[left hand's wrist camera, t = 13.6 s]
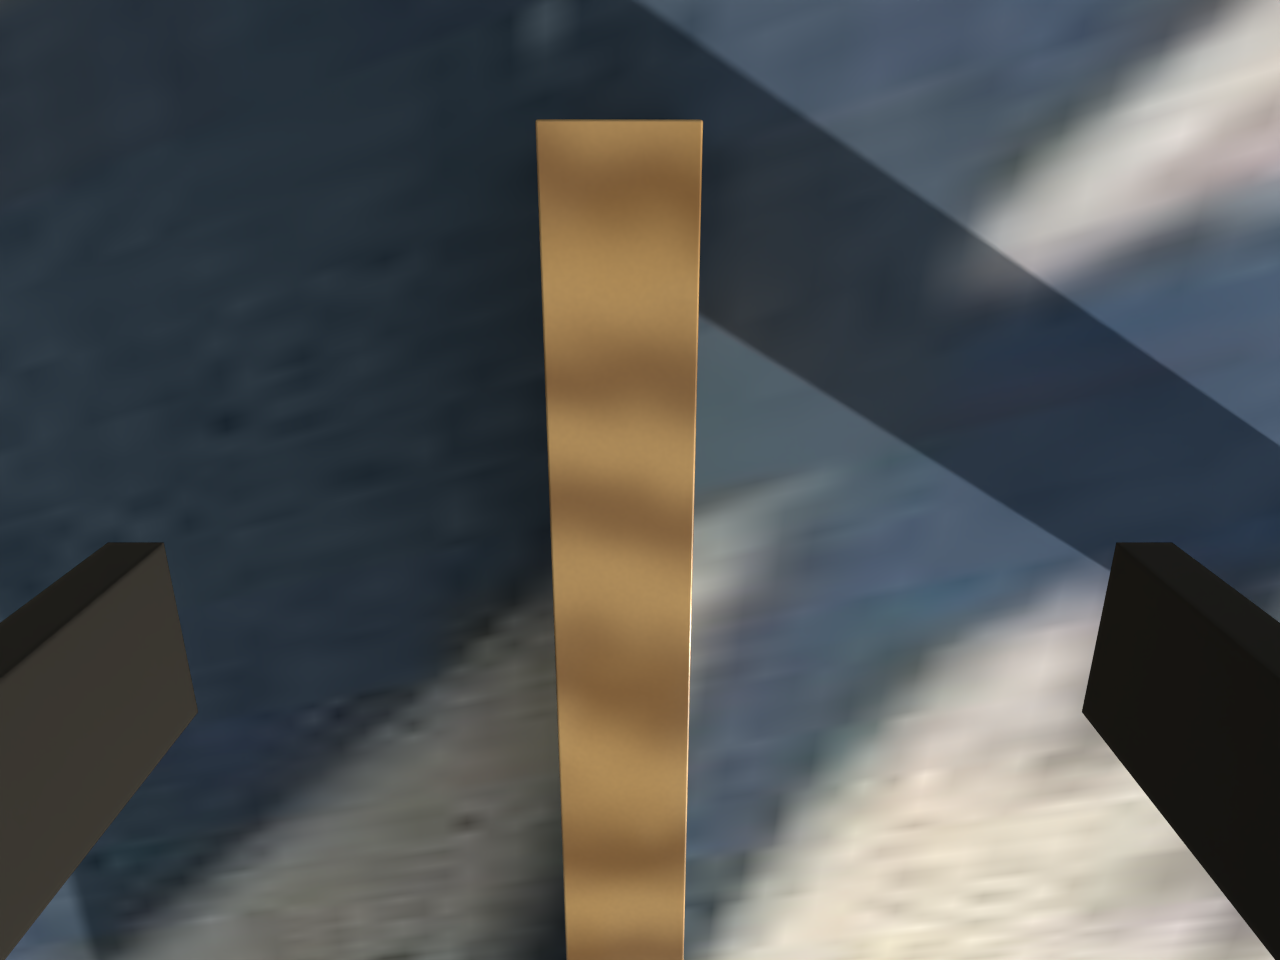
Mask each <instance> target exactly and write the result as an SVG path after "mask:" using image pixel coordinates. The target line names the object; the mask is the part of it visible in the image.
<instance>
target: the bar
mask: <svg viewBox="0 0 1280 960" xmlns="http://www.w3.org/2000/svg"><path fill="white" fill-rule="evenodd" d="M535 125H536V152H537V179H538V206H539V233H540V260H541V287H542V314H543V341H544V368H545V395H546V422H547V449H548V475H549V502H550V529H551V556H552V583H553V610H554V637H555V664H556V691H557V718H558V745H559V772H560V799H561V826H562V853H563V880H564V907H565V934H566V960H683V957H684V914H685V871H686V827H687V784H688V741H689V698H690V654H691V611H692V568H693V525H694V482H695V438H696V395H697V352H698V309H699V266H700V222H701V179H702V136H703V121H702V120H601V119H538V120H536V122H535Z"/></svg>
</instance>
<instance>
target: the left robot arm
mask: <svg viewBox="0 0 1280 960" xmlns="http://www.w3.org/2000/svg"><path fill="white" fill-rule="evenodd" d="M197 713H198V709H197V704H196V700H195V695H194V690H193V685H192V680H191V675H190V670H189V665H188V660H187V655H186V650H185V645H184V640H183V636H182V631H181V626H180V621H179V616H178V611H177V606H176V601H175V596H174V591H173V586H172V581H171V577H170V572H169V567H168V562H167V557H166V552H165V547H164V543H107V544H105V545H104V546H103V547H101V548H100V549H99V550H97V551H96V552H95V553H93V554H92V555H91V556H89V557H88V558H87V559H85V560H84V561H83V562H81V563H80V564H79V565H77V566H76V567H75V568H73V569H72V570H71V571H69V572H68V573H67V574H65V575H64V576H62V577H61V578H60V579H58V580H57V581H56V582H54V583H53V584H52V585H50V586H49V587H48V588H46V589H45V590H44V591H42V592H41V593H40V594H38V595H37V596H36V597H34V598H33V599H32V600H30V601H29V602H28V603H26V604H25V605H24V606H22V607H21V608H20V609H18V610H17V611H16V612H14V613H13V614H12V615H10V616H9V617H8V618H6V619H5V620H4V621H2V622H1V623H0V960H5V959H6V958H7V956H8V955H9V954H10V952H11V951H12V950H13V949H14V947H15V946H16V945H17V943H18V942H19V941H20V940H21V938H22V937H23V936H24V934H25V933H26V932H27V931H28V929H29V928H30V927H31V925H32V924H33V923H34V922H35V920H36V919H37V918H38V917H39V915H40V914H41V913H42V911H43V910H44V909H45V908H46V906H47V905H48V904H49V902H50V901H51V900H52V899H53V897H54V896H55V895H56V893H57V892H58V891H59V890H60V888H61V887H62V886H63V884H64V883H65V882H66V881H67V879H68V878H69V877H70V875H71V874H72V873H73V872H74V870H75V869H76V868H77V867H78V865H79V864H80V863H81V861H82V860H83V859H84V858H85V856H86V855H87V854H88V852H89V851H90V850H91V849H92V847H93V846H94V845H95V843H96V842H97V841H98V840H99V838H100V837H101V836H102V834H103V833H104V832H105V831H106V829H107V828H108V827H109V825H110V824H111V823H112V822H113V820H114V819H115V818H116V817H117V815H118V814H119V813H120V811H121V810H122V809H123V808H124V806H125V805H126V804H127V802H128V801H129V800H130V799H131V797H132V796H133V795H134V793H135V792H136V791H137V790H138V788H139V787H140V786H141V784H142V783H143V782H144V781H145V779H146V778H147V777H148V775H149V774H150V773H151V772H152V770H153V769H154V768H155V767H156V765H157V764H158V763H159V761H160V760H161V759H162V758H163V756H164V755H165V754H166V752H167V751H168V750H169V749H170V747H171V746H172V745H173V743H174V742H175V741H176V740H177V738H178V737H179V736H180V734H181V733H182V732H183V731H184V729H185V728H186V727H187V725H188V724H189V723H190V722H191V720H192V719H193V718H194V717H195V715H196V714H197ZM1082 713H1083V714H1084V715H1085V717H1086V718H1087V719H1088V720H1089V722H1090V723H1091V724H1092V725H1093V727H1094V728H1095V729H1096V731H1097V732H1098V733H1099V734H1100V736H1101V737H1102V738H1103V740H1104V741H1105V742H1106V743H1107V745H1108V746H1109V747H1110V749H1111V750H1112V751H1113V752H1114V754H1115V755H1116V756H1117V758H1118V759H1119V760H1120V761H1121V763H1122V764H1123V765H1124V767H1125V768H1126V769H1127V770H1128V772H1129V773H1130V774H1131V775H1132V777H1133V778H1134V779H1135V781H1136V782H1137V783H1138V784H1139V786H1140V787H1141V788H1142V790H1143V791H1144V792H1145V793H1146V795H1147V796H1148V797H1149V799H1150V800H1151V801H1152V802H1153V804H1154V805H1155V806H1156V808H1157V809H1158V810H1159V811H1160V813H1161V814H1162V815H1163V817H1164V818H1165V819H1166V820H1167V822H1168V823H1169V824H1170V825H1171V827H1172V828H1173V829H1174V831H1175V832H1176V833H1177V834H1178V836H1179V837H1180V838H1181V840H1182V841H1183V842H1184V843H1185V845H1186V846H1187V847H1188V849H1189V850H1190V851H1191V852H1192V854H1193V855H1194V856H1195V858H1196V859H1197V860H1198V861H1199V863H1200V864H1201V865H1202V867H1203V868H1204V869H1205V870H1206V872H1207V873H1208V874H1209V875H1210V877H1211V878H1212V879H1213V881H1214V882H1215V883H1216V884H1217V886H1218V887H1219V888H1220V890H1221V891H1222V892H1223V893H1224V895H1225V896H1226V897H1227V899H1228V900H1229V901H1230V902H1231V904H1232V905H1233V906H1234V908H1235V909H1236V910H1237V911H1238V913H1239V914H1240V915H1241V917H1242V918H1243V919H1244V920H1245V922H1246V923H1247V924H1248V925H1249V927H1250V928H1251V929H1252V931H1253V932H1254V933H1255V934H1256V936H1257V937H1258V938H1259V940H1260V941H1261V942H1262V943H1263V945H1264V946H1265V947H1266V949H1267V950H1268V951H1269V952H1270V954H1271V955H1272V956H1273V958H1274V959H1275V960H1280V623H1279V622H1278V621H1276V620H1275V619H1274V618H1272V617H1271V616H1270V615H1268V614H1267V613H1266V612H1264V611H1263V610H1262V609H1260V608H1259V607H1258V606H1256V605H1255V604H1254V603H1252V602H1251V601H1250V600H1248V599H1247V598H1246V597H1244V596H1243V595H1242V594H1240V593H1239V592H1238V591H1236V590H1235V589H1234V588H1232V587H1231V586H1230V585H1228V584H1227V583H1226V582H1224V581H1223V580H1222V579H1220V578H1219V577H1218V576H1216V575H1215V574H1213V573H1212V572H1211V571H1209V570H1208V569H1207V568H1205V567H1204V566H1203V565H1201V564H1200V563H1199V562H1197V561H1196V560H1195V559H1193V558H1192V557H1191V556H1189V555H1188V554H1187V553H1185V552H1184V551H1183V550H1181V549H1180V548H1179V547H1177V546H1176V545H1175V544H1173V543H1116V547H1115V552H1114V557H1113V562H1112V567H1111V572H1110V577H1109V581H1108V586H1107V591H1106V596H1105V601H1104V606H1103V611H1102V616H1101V621H1100V626H1099V631H1098V636H1097V640H1096V645H1095V650H1094V655H1093V660H1092V665H1091V670H1090V675H1089V680H1088V685H1087V690H1086V695H1085V700H1084V704H1083V709H1082Z"/></svg>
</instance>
